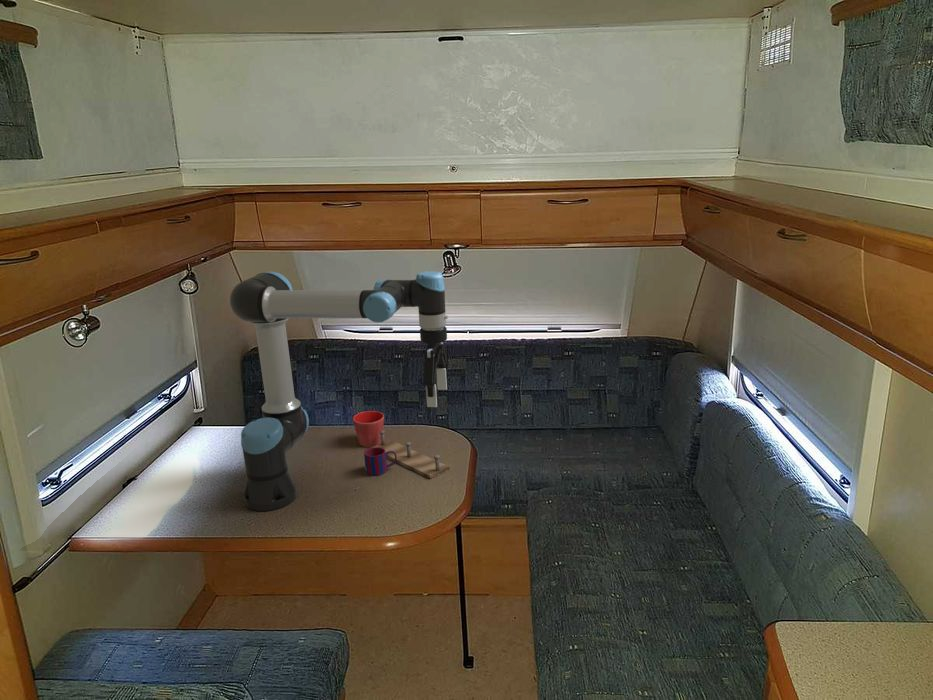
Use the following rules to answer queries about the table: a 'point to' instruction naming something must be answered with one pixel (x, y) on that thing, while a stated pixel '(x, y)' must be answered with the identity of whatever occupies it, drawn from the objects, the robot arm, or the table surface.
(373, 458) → the mug
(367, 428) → the flower pot
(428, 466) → the rail
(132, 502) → the table surface
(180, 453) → the table surface
